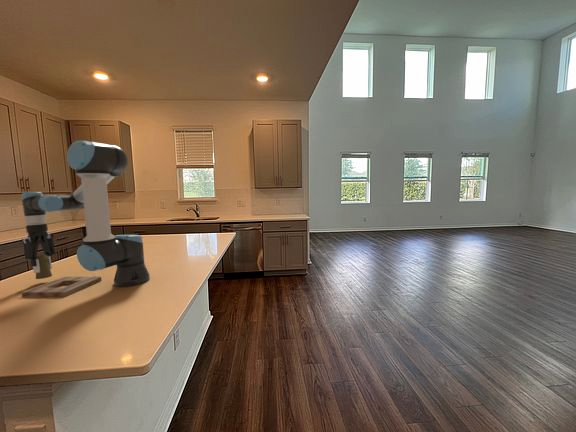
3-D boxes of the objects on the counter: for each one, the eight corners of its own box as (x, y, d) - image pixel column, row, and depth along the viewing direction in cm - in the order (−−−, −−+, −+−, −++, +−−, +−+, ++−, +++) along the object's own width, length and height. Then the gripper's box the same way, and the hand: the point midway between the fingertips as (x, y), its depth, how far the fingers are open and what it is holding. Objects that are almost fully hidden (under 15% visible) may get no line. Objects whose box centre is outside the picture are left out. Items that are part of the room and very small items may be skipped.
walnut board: (101, 280, 132) (101, 276, 132) (64, 296, 112) (64, 292, 112) (64, 280, 134) (64, 276, 134) (21, 296, 114) (21, 292, 114)
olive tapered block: (42, 279, 127) (38, 256, 126) (32, 279, 129) (29, 256, 128) (55, 275, 133) (52, 253, 132) (45, 274, 135) (42, 253, 134)
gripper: (47, 221, 138) (53, 265, 140) (8, 226, 120) (15, 276, 122) (61, 221, 137) (66, 265, 139) (23, 226, 119) (30, 276, 121)
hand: (43, 270), depth 131 cm, fingers closed on olive tapered block, 5 cm apart
